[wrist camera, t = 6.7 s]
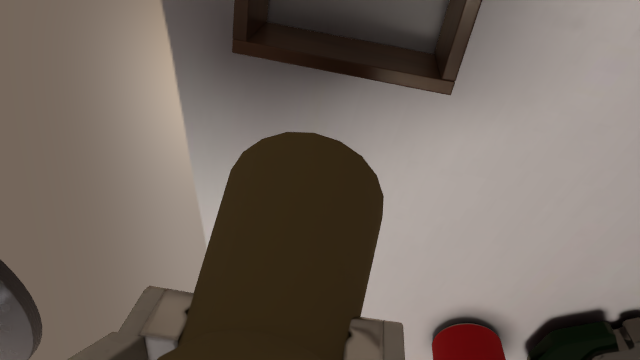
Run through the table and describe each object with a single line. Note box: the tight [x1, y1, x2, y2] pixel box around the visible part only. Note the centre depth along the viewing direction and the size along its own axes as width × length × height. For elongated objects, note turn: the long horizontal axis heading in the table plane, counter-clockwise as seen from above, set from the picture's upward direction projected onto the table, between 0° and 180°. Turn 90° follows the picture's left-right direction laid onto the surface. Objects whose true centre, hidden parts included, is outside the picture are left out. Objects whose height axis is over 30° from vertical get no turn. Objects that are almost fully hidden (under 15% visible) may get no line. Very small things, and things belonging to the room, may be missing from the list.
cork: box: [157, 132, 384, 360], centre depth 12 cm, size 6×6×11 cm
